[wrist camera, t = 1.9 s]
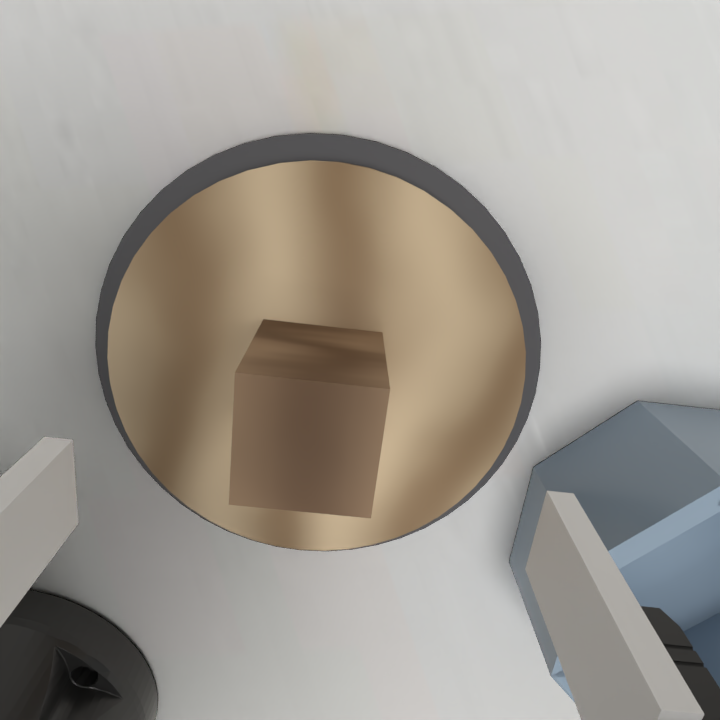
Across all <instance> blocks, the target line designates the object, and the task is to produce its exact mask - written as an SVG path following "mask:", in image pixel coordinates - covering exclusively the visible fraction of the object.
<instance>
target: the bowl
mask: <svg viewBox="0 0 720 720" xmlns="http://www.w3.org/2000/svg"><path fill="white" fill-rule="evenodd" d="M547 491H555V492H565V493H574V495H575V497H576V498H577V500H578V502H579V503H580V505H581V507H582V508H583V510H584V512H585V513H586V515H587V517H588V518H589V520H590V522H591V523H592V525H593V527H594V529H595V530H596V532H597V534H598V535H599V537H600V539H601V540H602V542H603V544H604V545H605V547H606V549H607V550H608V552H609V554H610V556H611V557H612V559H613V561H614V562H615V564H616V566H617V567H618V569H619V571H620V572H621V574H622V576H623V577H624V579H625V581H626V583H627V584H628V586H629V588H630V589H631V591H632V593H633V594H634V596H635V598H636V599H637V601H638V603H639V604H640V606H645V607H654V608H660V609H661V610H662V611H663V612H665V613H666V614H667V615H668V616H669V617H670V618H671V619H672V620H673V621H674V622H675V623H677V624H678V625H679V626H680V628H681V629H682V631H683V632H684V634H685V635H686V637H687V638H688V640H689V641H690V643H691V645H692V646H693V651H696V652H697V654H698V655H699V657H700V658H701V660H702V661H703V663H704V668H707V669H708V671H709V672H710V674H711V675H712V677H713V678H714V680H715V681H716V683H717V685H718V686H719V688H720V410H717V409H708V408H698V407H689V406H680V405H671V404H661V403H652V402H643V401H637V402H635V403H634V404H632V405H630V406H629V407H627V408H626V409H624V410H623V411H621V412H619V413H618V414H616V415H615V416H613V417H612V418H610V419H608V420H607V421H605V422H604V423H602V424H601V425H599V426H597V427H596V428H594V429H593V430H591V431H590V432H588V433H586V434H585V435H583V436H582V437H580V438H579V439H577V440H575V441H574V442H572V443H571V444H569V445H568V446H566V447H564V448H563V449H561V450H560V451H558V452H557V453H555V454H553V455H552V456H550V457H549V458H547V459H546V460H544V461H542V462H541V463H539V464H538V465H536V466H535V467H533V471H532V475H531V479H530V483H529V487H528V491H527V494H526V498H525V502H524V506H523V510H522V514H521V518H520V522H519V525H518V529H517V533H516V537H515V541H514V545H513V549H512V553H511V556H510V560H509V563H510V566H511V568H512V571H513V574H514V576H515V579H516V582H517V585H518V587H519V590H520V593H521V596H522V598H523V601H524V604H525V607H526V609H527V612H528V615H529V617H530V620H531V623H532V626H533V628H534V631H535V634H536V637H537V639H538V642H539V645H540V648H541V650H542V653H543V656H544V658H545V661H546V664H547V667H548V669H549V672H550V675H551V677H552V678H553V679H554V680H555V681H556V682H557V683H558V684H559V686H560V687H561V688H562V689H563V690H564V691H565V692H566V693H567V694H568V695H569V697H570V698H571V699H572V700H573V701H574V698H573V696H572V693H571V690H570V688H569V685H568V682H567V680H566V677H565V674H564V672H563V669H562V666H561V664H560V661H559V658H558V656H557V653H556V650H555V648H554V645H553V642H552V640H551V637H550V634H549V632H548V629H547V626H546V624H545V621H544V618H543V616H542V613H541V610H540V608H539V605H538V602H537V600H536V597H535V594H534V592H533V589H532V586H531V584H530V581H529V578H528V575H527V573H526V570H525V568H526V565H527V561H528V557H529V554H530V550H531V546H532V543H533V539H534V535H535V532H536V528H537V525H538V521H539V517H540V514H541V510H542V506H543V503H544V499H545V496H546V492H547ZM574 702H575V701H574Z"/></svg>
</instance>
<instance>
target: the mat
mask: <svg viewBox="0 0 720 720" xmlns="http://www.w3.org/2000/svg"><path fill="white" fill-rule="evenodd" d="M308 160H316V161H334V162H344V163H349V164H354V165H359V166H364V167H369V168H372V169H375V170H378V171H381V172H384V173H387V174H390V175H393V176H395V177H398V178H400V179H402V180H404V181H406V182H408V183H410V184H412V185H414V186H416V187H418V188H420V189H422V190H424V191H425V192H426V193H428V194H429V195H431V196H432V197H434V198H435V199H437V200H438V201H439V202H441V203H442V204H444V205H445V206H447V207H448V208H450V209H451V210H452V211H453V212H454V213H455V214H456V215H458V216H459V217H460V218H461V219H462V220H463V221H464V222H465V223H466V224H467V225H468V226H469V227H471V228H472V229H473V231H474V232H475V233H476V234H477V235H478V237H479V238H480V239H481V240H482V242H483V243H484V244H485V245H486V246H487V248H488V249H489V250H490V251H491V253H492V255H493V256H494V258H495V259H496V261H497V263H498V264H499V266H500V268H501V269H502V271H503V273H504V274H505V276H506V279H507V281H508V283H509V286H510V288H511V290H512V293H513V295H514V297H515V300H516V303H517V307H518V310H519V314H520V318H521V322H522V326H523V333H524V341H525V350H526V363H525V382H524V388H523V394H522V400H521V404H520V407H519V411H518V414H517V417H516V420H515V423H514V426H513V429H512V431H511V433H510V435H509V437H508V439H507V441H506V443H505V446H504V448H503V449H502V451H501V453H500V454H499V456H498V457H497V459H496V460H495V462H494V463H493V465H492V467H491V468H490V469H489V471H488V472H487V473H486V474H485V475H484V477H483V478H482V479H481V480H480V481H479V483H478V484H477V485H476V486H475V487H474V488H473V489H472V490H471V491H470V492H469V493H468V494H467V495H466V496H465V497H463V498H462V499H461V500H460V501H459V502H458V503H457V504H456V505H454V506H453V507H451V508H450V509H449V510H447V511H446V512H445V513H443V514H442V515H440V516H439V517H438V518H436V519H434V520H432V521H430V522H429V523H427V524H425V525H423V526H422V527H420V528H418V529H416V530H413V531H411V532H409V533H406V534H404V535H402V536H399V537H397V538H394V539H391V540H387V541H384V542H380V543H377V544H374V545H379V544H382V543H386V542H389V541H392V540H396V539H399V538H402V537H405V536H407V535H409V534H412V533H414V532H416V531H419V530H421V529H424V528H426V527H427V526H429V525H431V524H433V523H435V522H436V521H438V520H440V519H442V518H443V517H445V516H447V515H448V514H450V513H451V512H452V511H454V510H455V509H457V508H458V507H459V506H461V505H462V504H463V503H465V502H466V501H467V500H469V499H470V498H471V497H472V496H473V495H474V494H475V493H476V492H477V491H478V490H479V489H480V488H481V487H483V486H484V485H485V484H486V483H487V481H488V480H489V479H490V478H491V477H492V476H493V474H494V473H495V472H496V471H497V470H498V468H499V467H500V466H501V465H502V464H503V462H504V460H505V459H506V457H507V456H508V454H509V453H510V451H511V450H512V448H513V446H514V445H515V443H516V442H517V440H518V437H519V435H520V433H521V431H522V429H523V427H524V425H525V423H526V421H527V418H528V415H529V412H530V409H531V406H532V403H533V399H534V396H535V393H536V387H537V381H538V375H539V370H540V350H541V337H540V327H539V318H538V311H537V307H536V303H535V299H534V295H533V291H532V287H531V284H530V281H529V279H528V276H527V274H526V272H525V269H524V267H523V264H522V262H521V259H520V257H519V255H518V254H517V252H516V250H515V249H514V247H513V245H512V244H511V242H510V240H509V238H508V237H507V235H506V233H505V232H504V230H503V229H502V228H501V227H500V225H499V224H498V223H497V222H496V220H495V219H494V218H493V217H492V215H491V214H490V213H489V212H488V210H487V209H486V208H485V207H484V206H483V205H482V204H481V203H480V202H479V201H478V200H477V199H476V198H475V197H473V196H472V195H471V194H470V193H469V192H468V191H467V190H466V189H465V188H464V187H463V186H462V185H460V184H459V183H457V182H456V181H454V180H453V179H452V178H450V177H449V176H447V175H446V174H445V173H443V172H442V171H440V170H439V169H438V168H436V167H434V166H432V165H430V164H428V163H426V162H424V161H422V160H421V159H419V158H417V157H415V156H413V155H411V154H409V153H407V152H404V151H401V150H398V149H395V148H393V147H390V146H387V145H384V144H381V143H378V142H375V141H370V140H365V139H360V138H355V137H350V136H345V135H332V134H314V133H307V134H295V135H283V136H275V137H270V138H266V139H262V140H257V141H253V142H249V143H244V144H242V145H239V146H237V147H234V148H231V149H229V150H226V151H224V152H221V153H218V154H216V155H214V156H212V157H210V158H208V159H207V160H205V161H203V162H201V163H199V164H198V165H196V166H194V167H192V168H191V169H189V170H187V171H186V172H184V173H183V174H182V175H180V176H179V177H178V178H177V179H175V180H174V181H173V182H171V183H170V184H169V185H168V186H166V187H165V188H164V189H162V190H161V191H160V192H159V193H158V194H157V196H156V197H155V198H154V199H153V200H152V201H151V202H150V203H149V204H148V205H147V206H146V207H145V208H144V209H143V210H142V211H141V212H140V214H139V215H138V217H137V218H136V219H135V221H134V222H133V224H132V225H131V226H130V228H129V229H128V231H127V232H126V234H125V235H124V236H123V238H122V240H121V242H120V244H119V246H118V248H117V250H116V252H115V254H114V256H113V258H112V260H111V262H110V265H109V268H108V271H107V274H106V277H105V280H104V283H103V286H102V289H101V294H100V300H99V305H98V311H97V317H96V354H97V363H98V372H99V377H100V381H101V384H102V388H103V392H104V396H105V400H106V402H107V405H108V407H109V410H110V412H111V415H112V417H113V420H114V422H115V425H116V426H117V428H118V430H119V432H120V434H121V435H122V437H123V439H124V441H125V442H126V444H127V446H128V448H129V449H130V450H131V452H132V453H133V455H134V456H135V457H136V459H137V460H138V461H139V463H140V464H141V465H142V467H143V468H144V469H145V470H146V471H147V472H148V474H149V475H150V476H151V477H152V478H153V479H154V480H155V481H156V482H157V483H158V484H159V485H160V486H161V487H162V488H163V489H164V490H165V491H166V492H168V493H169V494H170V495H171V496H172V497H173V498H175V499H176V500H177V501H178V502H179V503H181V504H182V505H183V506H185V507H186V508H188V509H189V510H191V511H192V512H194V513H195V514H197V515H198V516H200V517H201V518H203V519H205V520H207V519H206V518H204V517H203V516H201V515H200V514H198V513H197V512H195V511H194V510H192V509H191V508H189V507H188V506H187V505H185V504H184V503H183V502H182V501H181V500H179V499H178V498H177V497H176V496H175V495H173V494H172V493H171V492H170V491H169V490H168V489H167V488H166V487H165V486H164V485H163V484H162V483H161V482H160V481H159V480H158V478H157V477H156V476H155V475H154V474H153V473H152V472H151V470H150V469H149V468H148V466H147V465H146V464H145V462H144V461H143V460H142V458H141V457H140V455H139V454H138V453H137V451H136V449H135V447H134V446H133V444H132V442H131V440H130V438H129V437H128V435H127V433H126V431H125V429H124V426H123V424H122V421H121V419H120V416H119V414H118V411H117V409H116V405H115V401H114V397H113V393H112V389H111V385H110V378H109V368H108V359H107V354H108V331H109V325H110V320H111V314H112V309H113V305H114V302H115V299H116V296H117V293H118V290H119V287H120V284H121V281H122V279H123V277H124V275H125V273H126V271H127V269H128V267H129V265H130V263H131V261H132V259H133V257H134V256H135V254H136V253H137V252H138V250H139V249H140V247H141V246H142V245H143V243H144V242H145V240H146V239H147V238H148V236H149V235H150V234H151V233H152V232H153V231H154V229H155V228H156V227H157V226H158V225H159V224H160V223H161V222H162V221H163V220H164V219H165V218H166V217H167V216H168V215H169V214H170V213H171V212H173V211H174V210H175V209H177V208H178V207H179V206H180V205H182V204H183V203H184V202H186V201H187V200H188V199H190V198H191V197H192V196H194V195H195V194H197V193H199V192H201V191H203V190H204V189H206V188H208V187H210V186H212V185H213V184H215V183H217V182H219V181H221V180H224V179H226V178H229V177H232V176H234V175H237V174H240V173H242V172H245V171H247V170H251V169H256V168H260V167H265V166H269V165H273V164H278V163H284V162H296V161H308ZM207 521H209V520H207ZM209 522H211V521H209ZM211 523H212V524H214V525H216V526H218V527H220V528H222V529H224V530H226V531H229V530H227V529H225V528H223V527H221V526H219V525H217V524H215V523H213V522H211ZM229 532H231V531H229ZM231 533H233V532H231ZM234 534H236V533H234ZM237 535H238V534H237ZM239 536H241V535H239ZM242 537H244V536H242ZM244 538H246V537H244ZM247 539H249V538H247ZM250 540H252V539H250ZM253 541H255V540H253ZM257 542H259V541H257ZM261 543H262V542H261ZM265 544H266V543H265ZM268 545H270V544H268ZM374 545H369V546H374ZM272 546H274V545H272ZM369 546H363V547H369ZM276 547H279V546H276ZM363 547H358V548H363ZM283 548H286V547H283ZM290 549H292V548H290ZM352 549H357V548H352ZM352 549H342V550H352ZM297 550H299V549H297ZM309 551H320V550H309ZM327 551H337V550H327Z"/></svg>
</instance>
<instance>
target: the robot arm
mask: <svg viewBox="0 0 720 720" xmlns="http://www.w3.org/2000/svg"><path fill="white" fill-rule="evenodd" d="M78 524H79V522H78V507H77V492H76V477H75V462H74V447H73V440H72V439H63V438H54V437H45V436H44V437H43V438H42V439H41V440H40V441H39V442H38V443H37V444H36V445H35V446H34V447H33V448H31V449H30V450H29V451H28V452H27V453H26V454H25V455H24V456H23V457H22V458H21V459H19V460H18V461H17V462H16V463H15V464H14V465H13V466H12V467H11V468H10V469H9V470H8V471H6V472H5V473H4V474H3V475H2V476H1V477H0V720H155V719H156V715H157V706H158V699H157V690H156V685H155V682H154V679H153V676H152V673H151V671H150V669H149V667H148V665H147V663H146V661H145V660H144V658H143V657H142V655H141V654H140V652H139V651H138V650H137V649H136V647H135V646H134V645H133V644H132V643H131V642H130V641H129V640H128V638H127V637H125V636H124V635H123V634H122V633H121V632H120V631H119V630H118V629H116V628H115V627H114V626H113V625H111V624H110V623H109V622H107V621H106V620H104V619H103V618H101V617H100V616H98V615H96V614H95V613H93V612H91V611H89V610H87V609H85V608H83V607H81V606H79V605H77V604H75V603H72V602H70V601H67V600H65V599H62V598H59V597H56V596H52V595H49V594H45V593H41V592H36V591H31V590H29V589H30V587H31V586H32V585H33V583H34V582H35V581H36V579H37V578H38V577H39V575H40V574H41V573H42V571H43V570H44V569H45V567H46V566H47V565H48V563H49V562H50V561H51V559H52V558H53V557H54V555H55V554H56V553H57V552H58V550H59V549H60V548H61V546H62V545H63V544H64V542H65V541H66V540H67V538H68V537H69V536H70V534H71V533H72V532H73V530H74V529H75V528H76V526H77V525H78ZM525 570H526V573H527V575H528V578H529V581H530V584H531V586H532V589H533V592H534V594H535V597H536V600H537V602H538V605H539V608H540V610H541V613H542V616H543V618H544V621H545V624H546V626H547V629H548V632H549V634H550V637H551V640H552V642H553V645H554V648H555V650H556V653H557V656H558V658H559V661H560V664H561V666H562V669H563V672H564V674H565V677H566V680H567V682H568V685H569V688H570V690H571V693H572V696H573V698H574V701H575V704H576V706H577V709H578V712H579V714H580V717H581V720H720V688H719V686H718V685H717V683H716V681H715V680H714V678H713V677H712V675H711V674H710V672H709V671H708V669H707V668H704V663H703V661H702V660H701V658H700V657H699V655H698V654H697V652H696V651H693V646H692V645H691V643H690V641H689V640H688V638H687V637H686V635H685V634H684V632H683V631H682V629H681V628H680V626H679V625H678V624H677V623H675V622H674V621H673V620H672V619H671V618H670V617H669V616H668V615H667V614H666V613H665V612H663V611H662V610H661V609H660V608H654V607H645V606H640V604H639V603H638V601H637V599H636V598H635V596H634V594H633V593H632V591H631V589H630V588H629V586H628V584H627V583H626V581H625V579H624V577H623V576H622V574H621V572H620V571H619V569H618V567H617V566H616V564H615V562H614V561H613V559H612V557H611V556H610V554H609V552H608V550H607V549H606V547H605V545H604V544H603V542H602V540H601V539H600V537H599V535H598V534H597V532H596V530H595V529H594V527H593V525H592V523H591V522H590V520H589V518H588V517H587V515H586V513H585V512H584V510H583V508H582V507H581V505H580V503H579V502H578V500H577V498H576V497H575V495H574V493H565V492H555V491H547V492H546V496H545V499H544V503H543V506H542V510H541V514H540V517H539V521H538V525H537V528H536V532H535V535H534V539H533V543H532V546H531V550H530V554H529V557H528V561H527V565H526V568H525Z"/></svg>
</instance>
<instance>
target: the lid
mask: <svg viewBox="0 0 720 720" xmlns="http://www.w3.org/2000/svg"><path fill="white" fill-rule="evenodd" d="M107 359H108V368H109V378H110V385H111V389H112V393H113V397H114V401H115V405H116V409H117V411H118V414H119V416H120V419H121V421H122V424H123V426H124V429H125V431H126V433H127V435H128V437H129V438H130V440H131V442H132V444H133V446H134V447H135V449H136V451H137V453H138V454H139V455H140V457H141V458H142V460H143V461H144V462H145V464H146V465H147V466H148V468H149V469H150V470H151V472H152V473H153V474H154V475H155V476H156V477H157V478H158V480H159V481H160V482H161V483H162V484H163V485H164V486H165V487H166V488H167V489H168V490H169V491H170V492H171V493H172V494H173V495H175V496H176V497H177V498H178V499H179V500H181V501H182V502H183V503H184V504H185V505H187V506H188V507H189V508H191V509H192V510H194V511H195V512H197V513H198V514H200V515H201V516H203V517H204V518H206V519H207V520H209V521H211V522H213V523H215V524H217V525H219V526H221V527H223V528H225V529H227V530H229V531H231V532H233V533H236V534H238V535H241V536H244V537H246V538H249V539H252V540H255V541H259V542H262V543H266V544H270V545H274V546H279V547H286V548H292V549H299V550H320V551H327V550H342V549H352V548H358V547H363V546H369V545H374V544H377V543H380V542H384V541H387V540H391V539H394V538H397V537H399V536H402V535H404V534H406V533H409V532H411V531H413V530H416V529H418V528H420V527H422V526H423V525H425V524H427V523H429V522H430V521H432V520H434V519H436V518H438V517H439V516H440V515H442V514H443V513H445V512H446V511H447V510H449V509H450V508H451V507H453V506H454V505H456V504H457V503H458V502H459V501H460V500H461V499H462V498H463V497H465V496H466V495H467V494H468V493H469V492H470V491H471V490H472V489H473V488H474V487H475V486H476V485H477V484H478V483H479V481H480V480H481V479H482V478H483V477H484V475H485V474H486V473H487V472H488V471H489V469H490V468H491V467H492V465H493V463H494V462H495V460H496V459H497V457H498V456H499V454H500V453H501V451H502V449H503V448H504V446H505V443H506V441H507V439H508V437H509V435H510V433H511V431H512V429H513V426H514V423H515V420H516V417H517V414H518V411H519V407H520V404H521V400H522V394H523V388H524V382H525V363H526V350H525V341H524V333H523V326H522V322H521V318H520V314H519V310H518V307H517V303H516V300H515V297H514V295H513V293H512V290H511V288H510V286H509V283H508V281H507V279H506V276H505V274H504V273H503V271H502V269H501V268H500V266H499V264H498V263H497V261H496V259H495V258H494V256H493V255H492V253H491V251H490V250H489V249H488V248H487V246H486V245H485V244H484V243H483V242H482V240H481V239H480V238H479V237H478V235H477V234H476V233H475V232H474V231H473V229H472V228H471V227H469V226H468V225H467V224H466V223H465V222H464V221H463V220H462V219H461V218H460V217H459V216H458V215H456V214H455V213H454V212H453V211H452V210H451V209H450V208H448V207H447V206H445V205H444V204H442V203H441V202H439V201H438V200H437V199H435V198H434V197H432V196H431V195H429V194H428V193H426V192H425V191H424V190H422V189H420V188H418V187H416V186H414V185H412V184H410V183H408V182H406V181H404V180H402V179H400V178H398V177H395V176H393V175H390V174H387V173H384V172H381V171H378V170H375V169H372V168H369V167H364V166H359V165H354V164H349V163H344V162H334V161H316V160H308V161H296V162H284V163H278V164H273V165H269V166H265V167H260V168H256V169H251V170H247V171H245V172H242V173H240V174H237V175H234V176H232V177H229V178H226V179H224V180H221V181H219V182H217V183H215V184H213V185H212V186H210V187H208V188H206V189H204V190H203V191H201V192H199V193H197V194H195V195H194V196H192V197H191V198H190V199H188V200H187V201H186V202H184V203H183V204H182V205H180V206H179V207H178V208H177V209H175V210H174V211H173V212H171V213H170V214H169V215H168V216H167V217H166V218H165V219H164V220H163V221H162V222H161V223H160V224H159V225H158V226H157V227H156V228H155V229H154V231H153V232H152V233H151V234H150V235H149V236H148V238H147V239H146V240H145V242H144V243H143V245H142V246H141V247H140V249H139V250H138V252H137V253H136V254H135V256H134V257H133V259H132V261H131V263H130V265H129V267H128V269H127V271H126V273H125V275H124V277H123V279H122V281H121V284H120V287H119V290H118V293H117V296H116V299H115V302H114V305H113V309H112V314H111V320H110V325H109V331H108V354H107Z"/></svg>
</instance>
